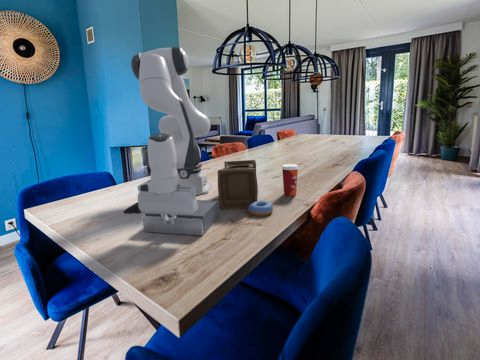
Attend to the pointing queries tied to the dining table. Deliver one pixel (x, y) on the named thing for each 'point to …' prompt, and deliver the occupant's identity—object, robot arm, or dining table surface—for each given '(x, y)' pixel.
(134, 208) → the phone
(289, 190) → the paper cup
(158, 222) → the tray
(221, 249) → the dining table surface
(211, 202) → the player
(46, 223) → the dining table surface
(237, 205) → the ornamental box
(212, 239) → the dining table surface
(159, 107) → the robot arm
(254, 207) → the doughnut
